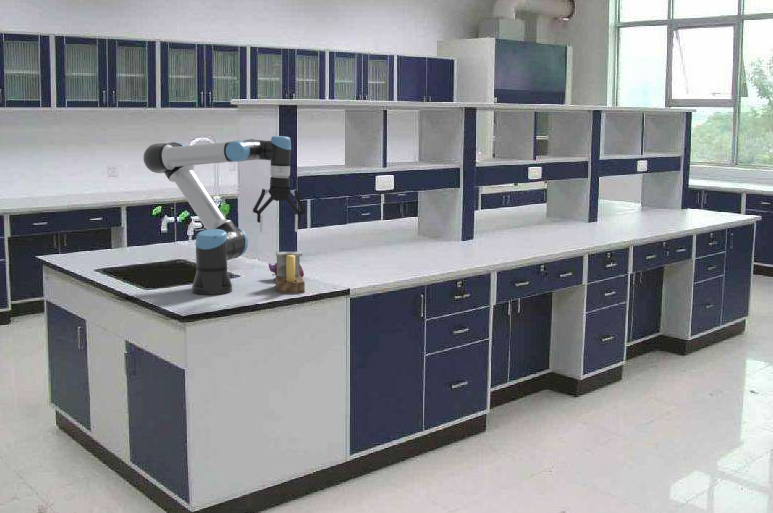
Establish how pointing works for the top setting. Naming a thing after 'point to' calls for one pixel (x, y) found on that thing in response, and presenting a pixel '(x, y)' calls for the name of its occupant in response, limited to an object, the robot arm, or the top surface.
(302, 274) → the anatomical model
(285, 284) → the peg socket stand
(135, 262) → the top surface
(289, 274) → the peg
